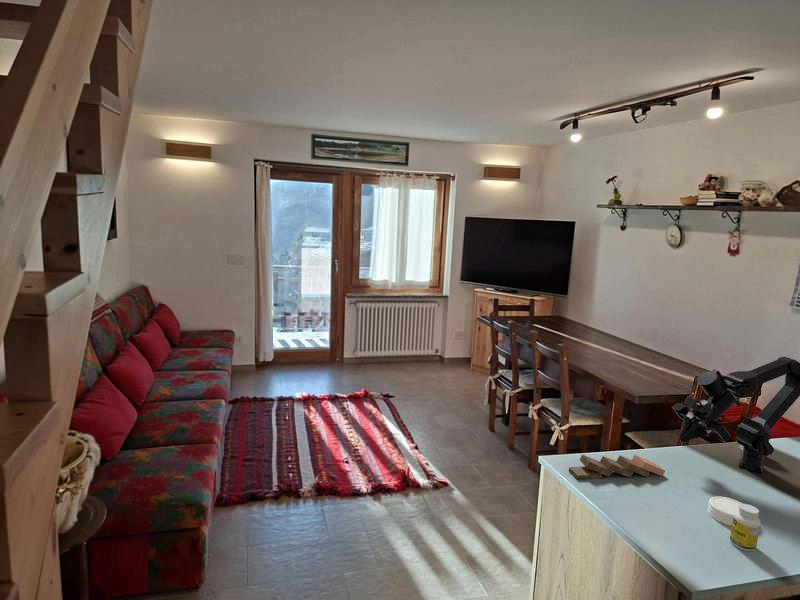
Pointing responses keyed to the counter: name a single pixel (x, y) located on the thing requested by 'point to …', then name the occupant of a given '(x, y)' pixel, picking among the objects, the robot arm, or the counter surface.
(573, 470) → the walnut domino
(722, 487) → the counter surface
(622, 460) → the walnut domino
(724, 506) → the white rounded piece
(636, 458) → the terracotta domino
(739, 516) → the supplement bottle
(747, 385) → the robot arm
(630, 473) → the walnut domino
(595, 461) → the walnut domino
